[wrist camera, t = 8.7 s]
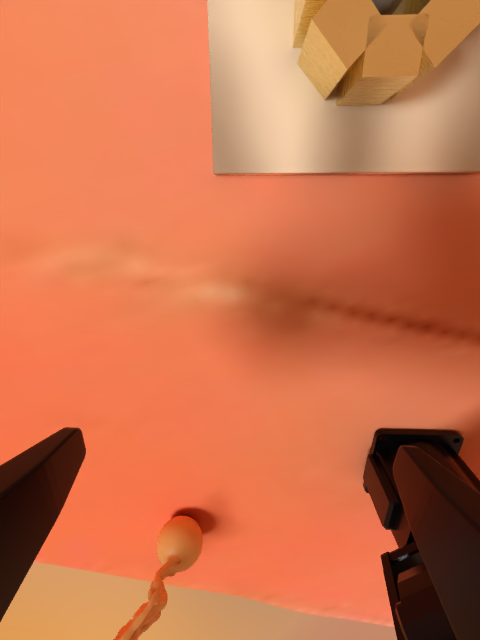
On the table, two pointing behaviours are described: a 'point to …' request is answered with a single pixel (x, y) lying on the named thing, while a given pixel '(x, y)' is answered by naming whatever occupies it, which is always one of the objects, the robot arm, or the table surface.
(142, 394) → the table surface
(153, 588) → the figurine
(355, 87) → the brass gear
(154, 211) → the table surface
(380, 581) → the table surface
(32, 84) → the table surface
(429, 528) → the robot arm
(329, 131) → the gear board
